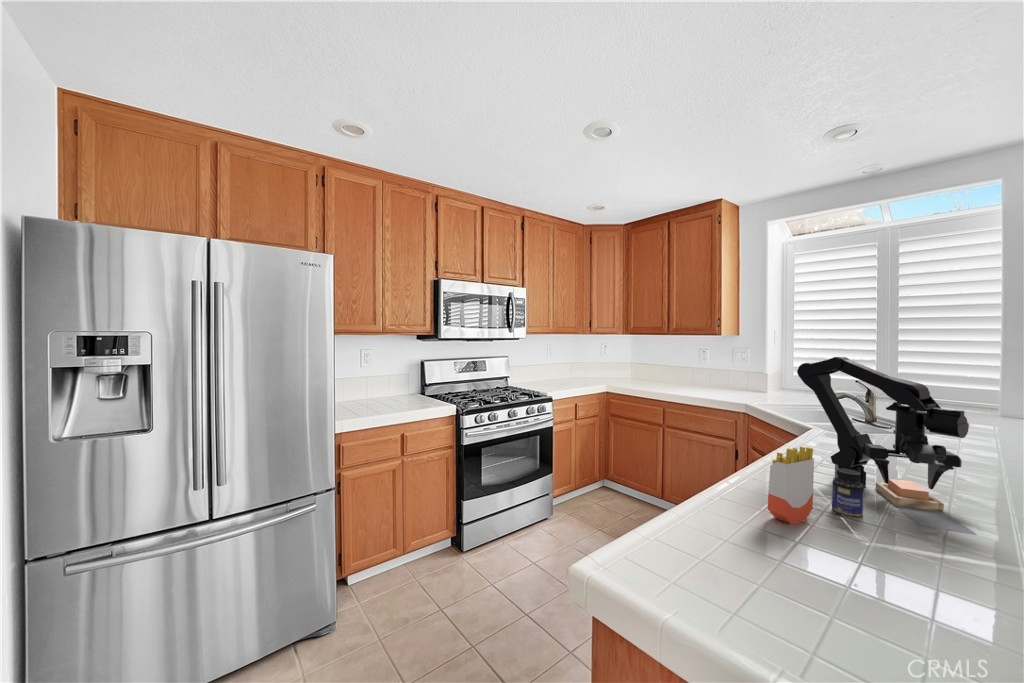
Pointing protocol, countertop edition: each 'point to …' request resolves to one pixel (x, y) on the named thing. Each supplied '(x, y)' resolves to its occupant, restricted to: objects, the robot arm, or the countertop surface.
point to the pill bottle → (847, 493)
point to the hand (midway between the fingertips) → (908, 486)
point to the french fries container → (791, 485)
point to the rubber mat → (933, 519)
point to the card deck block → (908, 489)
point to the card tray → (910, 500)
